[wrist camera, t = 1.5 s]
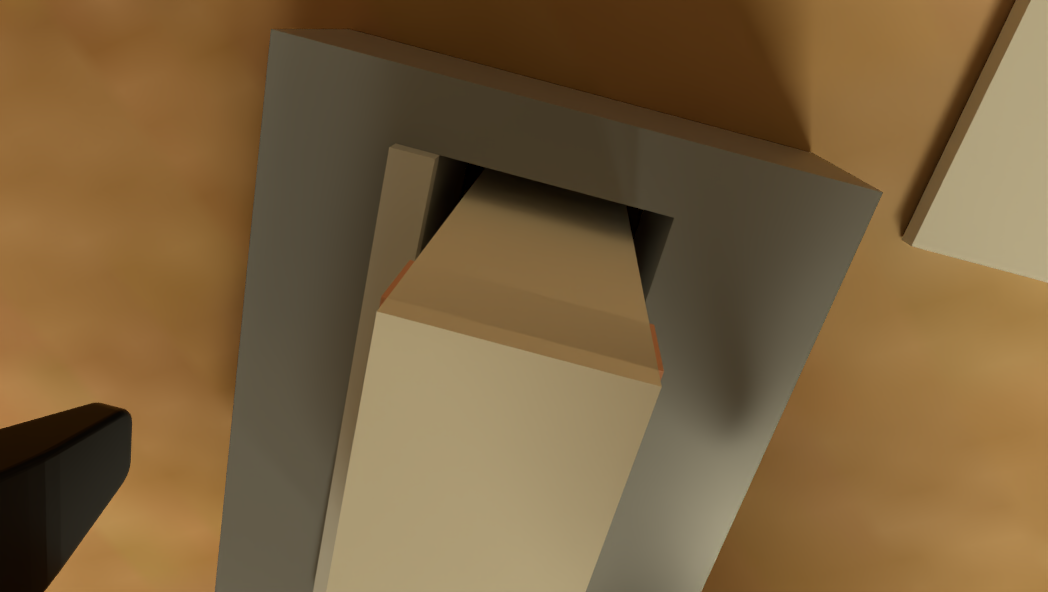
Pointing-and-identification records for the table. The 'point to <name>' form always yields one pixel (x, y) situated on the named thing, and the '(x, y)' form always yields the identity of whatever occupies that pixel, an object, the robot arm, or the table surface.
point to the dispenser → (421, 209)
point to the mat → (997, 160)
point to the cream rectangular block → (500, 399)
